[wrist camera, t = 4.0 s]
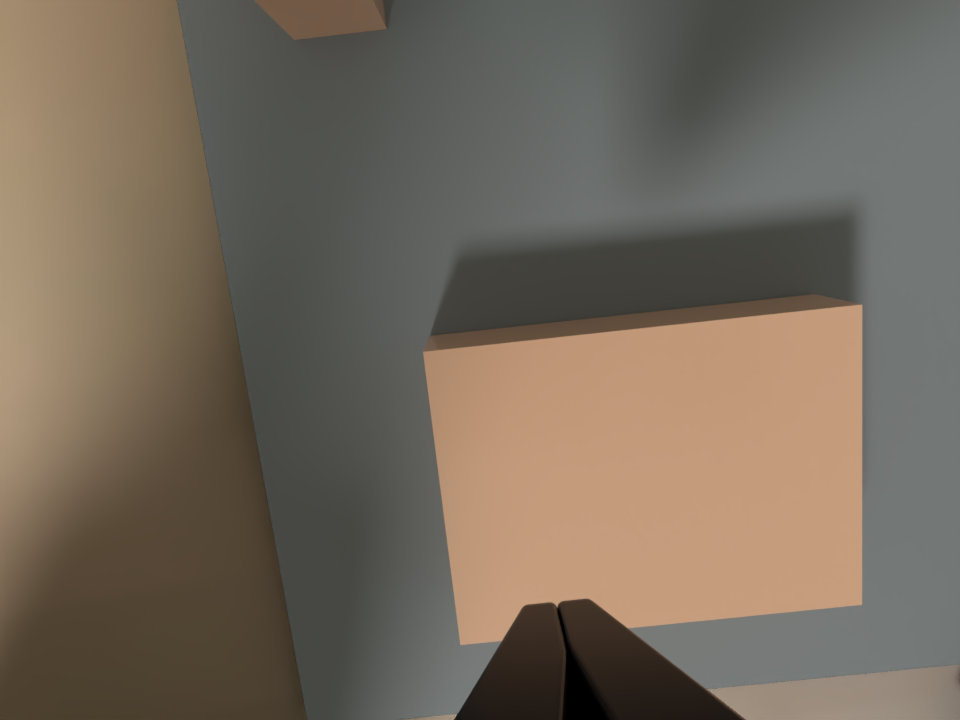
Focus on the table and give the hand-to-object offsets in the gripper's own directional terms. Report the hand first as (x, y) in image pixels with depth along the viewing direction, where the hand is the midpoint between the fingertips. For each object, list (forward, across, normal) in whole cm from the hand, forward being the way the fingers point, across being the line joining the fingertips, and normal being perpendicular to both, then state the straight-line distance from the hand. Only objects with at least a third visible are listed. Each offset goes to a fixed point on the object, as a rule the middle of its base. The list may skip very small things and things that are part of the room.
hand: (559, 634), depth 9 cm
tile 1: (+6, +2, 0) cm, 6 cm away
